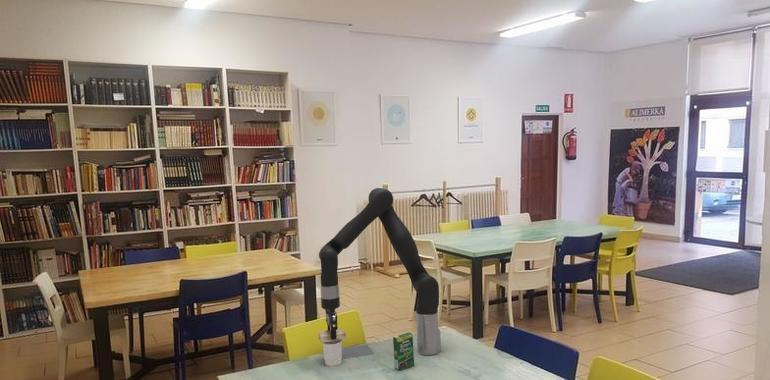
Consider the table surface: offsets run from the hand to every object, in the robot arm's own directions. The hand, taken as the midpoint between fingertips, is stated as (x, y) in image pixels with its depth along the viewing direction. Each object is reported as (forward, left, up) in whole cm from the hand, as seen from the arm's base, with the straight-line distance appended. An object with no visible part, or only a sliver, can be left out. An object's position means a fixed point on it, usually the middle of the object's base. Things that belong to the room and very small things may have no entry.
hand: (332, 336), depth 199 cm
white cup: (0, 0, -12) cm, 12 cm away
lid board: (0, 0, -1) cm, 1 cm away
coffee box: (-26, +14, -12) cm, 32 cm away
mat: (-11, -8, -12) cm, 18 cm away
